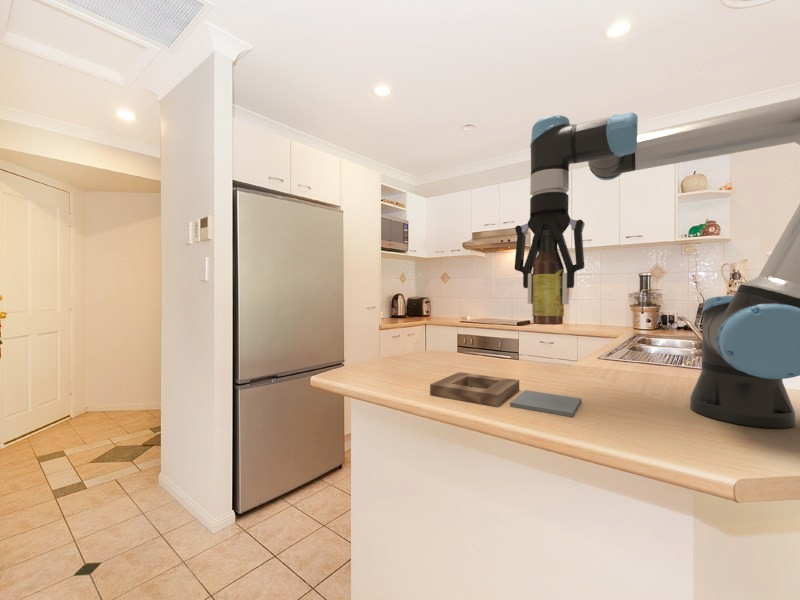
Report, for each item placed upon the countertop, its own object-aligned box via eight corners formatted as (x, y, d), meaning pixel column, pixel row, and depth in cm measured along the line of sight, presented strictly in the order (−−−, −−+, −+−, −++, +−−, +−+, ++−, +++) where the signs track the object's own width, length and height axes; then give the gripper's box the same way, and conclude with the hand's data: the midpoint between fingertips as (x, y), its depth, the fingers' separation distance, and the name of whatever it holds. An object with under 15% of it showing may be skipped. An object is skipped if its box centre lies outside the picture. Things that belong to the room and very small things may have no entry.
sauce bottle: (567, 326, 75) (569, 228, 75) (535, 325, 76) (536, 228, 76) (558, 323, 82) (560, 233, 81) (529, 322, 82) (530, 233, 82)
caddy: (519, 390, 90) (519, 380, 90) (497, 407, 77) (497, 395, 77) (458, 381, 99) (459, 372, 99) (430, 394, 86) (430, 384, 86)
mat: (581, 401, 81) (581, 398, 81) (572, 417, 71) (572, 413, 71) (525, 393, 87) (525, 390, 87) (510, 406, 77) (510, 402, 77)
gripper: (602, 192, 76) (600, 304, 76) (509, 204, 87) (508, 302, 87) (598, 183, 70) (596, 305, 70) (498, 197, 80) (497, 303, 81)
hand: (547, 303), depth 79 cm, fingers closed on sauce bottle, 6 cm apart
